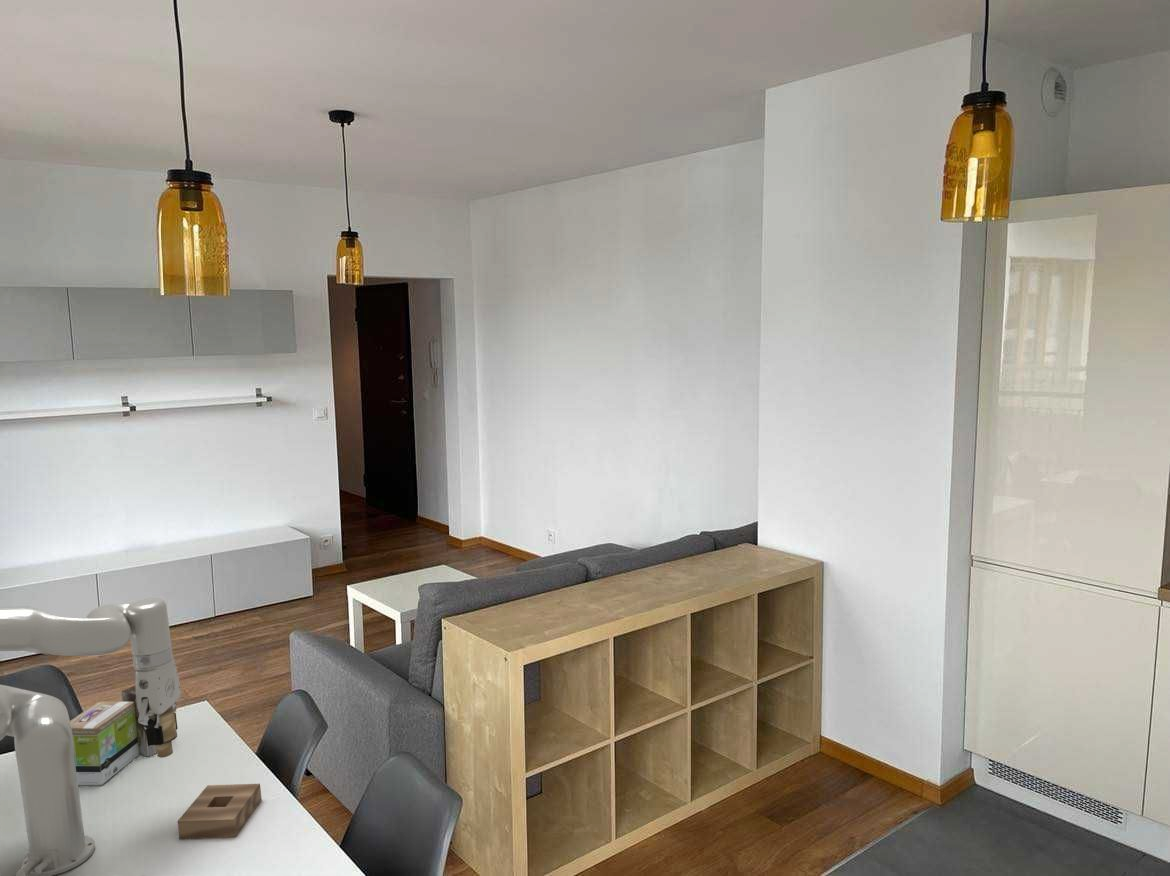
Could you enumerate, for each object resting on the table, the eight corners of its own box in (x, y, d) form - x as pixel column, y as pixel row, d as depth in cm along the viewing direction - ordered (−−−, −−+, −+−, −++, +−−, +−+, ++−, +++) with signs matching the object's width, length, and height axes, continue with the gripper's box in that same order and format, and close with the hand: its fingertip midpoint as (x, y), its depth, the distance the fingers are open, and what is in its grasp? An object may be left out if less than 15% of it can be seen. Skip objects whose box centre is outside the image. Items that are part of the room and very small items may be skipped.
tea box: (104, 786, 200) (96, 727, 198) (63, 786, 200) (56, 727, 198) (141, 754, 215) (135, 699, 213) (103, 754, 215) (97, 699, 213)
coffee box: (171, 746, 218) (165, 687, 216) (147, 757, 212) (141, 696, 211) (150, 739, 223) (144, 680, 221) (126, 749, 217) (120, 690, 215)
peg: (171, 759, 179) (166, 717, 178) (146, 761, 179) (140, 719, 178) (183, 747, 184) (178, 706, 183) (158, 748, 184) (153, 707, 183)
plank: (235, 836, 177) (233, 819, 176) (179, 838, 177) (177, 821, 176) (261, 800, 191) (260, 783, 190) (209, 801, 191) (207, 785, 190)
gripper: (150, 673, 170) (160, 756, 173) (189, 641, 187) (198, 718, 190) (113, 674, 170) (124, 758, 173) (155, 643, 187) (165, 719, 190)
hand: (162, 736), depth 181 cm, fingers closed on peg, 5 cm apart
